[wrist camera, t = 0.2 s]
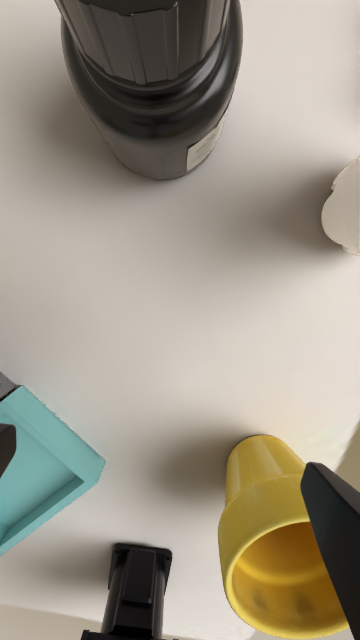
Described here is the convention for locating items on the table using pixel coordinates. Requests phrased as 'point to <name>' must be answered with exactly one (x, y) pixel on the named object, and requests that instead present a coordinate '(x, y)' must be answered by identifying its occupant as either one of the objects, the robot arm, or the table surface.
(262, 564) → the plant pot
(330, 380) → the table surface
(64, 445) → the teal tray
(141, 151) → the ink bottle
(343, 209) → the water bottle
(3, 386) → the grey tray
